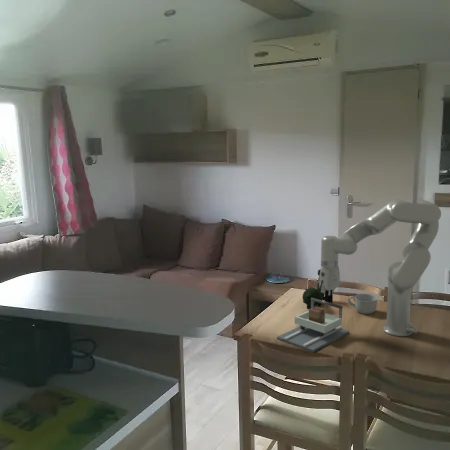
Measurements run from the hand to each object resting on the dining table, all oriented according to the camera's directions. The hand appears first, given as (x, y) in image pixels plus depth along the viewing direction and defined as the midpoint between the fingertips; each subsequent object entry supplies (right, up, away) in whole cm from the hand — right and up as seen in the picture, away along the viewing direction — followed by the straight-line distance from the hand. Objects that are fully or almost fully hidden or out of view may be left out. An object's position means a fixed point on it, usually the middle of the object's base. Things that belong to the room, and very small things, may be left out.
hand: (328, 302), depth 215 cm
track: (-8, -14, -6) cm, 17 cm away
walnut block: (-6, -8, -5) cm, 11 cm away
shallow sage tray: (-5, -11, -4) cm, 13 cm away
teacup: (+22, -8, +22) cm, 32 cm away
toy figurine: (0, -7, +32) cm, 32 cm away
